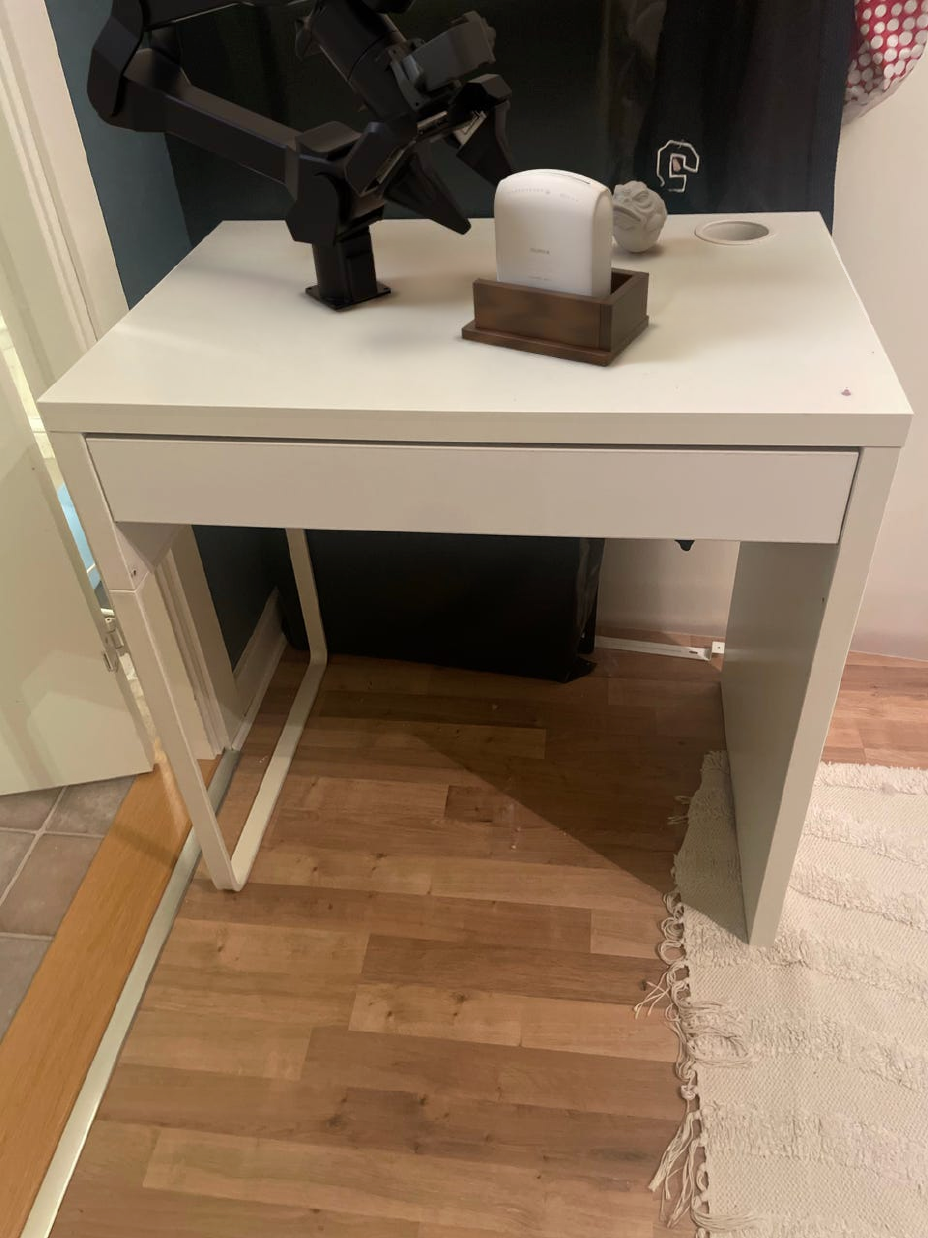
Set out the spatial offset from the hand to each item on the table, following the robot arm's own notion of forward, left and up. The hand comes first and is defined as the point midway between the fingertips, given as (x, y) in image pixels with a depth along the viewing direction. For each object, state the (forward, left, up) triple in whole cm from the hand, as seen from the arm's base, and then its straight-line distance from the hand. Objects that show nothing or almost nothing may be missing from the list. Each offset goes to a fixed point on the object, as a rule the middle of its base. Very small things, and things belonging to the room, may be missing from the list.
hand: (495, 214), depth 81 cm
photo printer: (+5, +2, -9) cm, 10 cm away
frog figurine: (-5, +21, -10) cm, 24 cm away
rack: (+5, +2, -9) cm, 11 cm away
